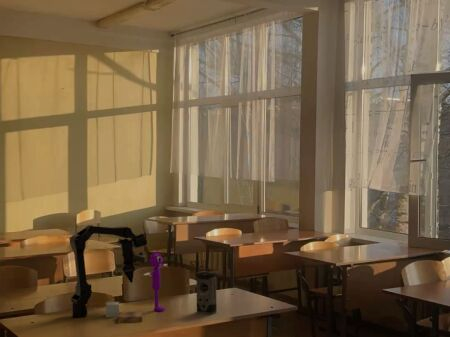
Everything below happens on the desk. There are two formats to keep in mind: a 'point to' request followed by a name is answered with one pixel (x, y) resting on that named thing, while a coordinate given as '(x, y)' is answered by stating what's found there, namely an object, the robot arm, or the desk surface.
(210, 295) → the electronic device
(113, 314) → the cube
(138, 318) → the walnut block
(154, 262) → the toy
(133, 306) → the desk surface
